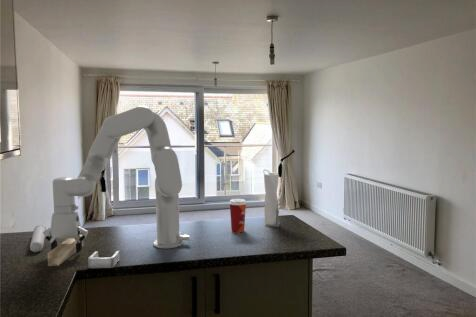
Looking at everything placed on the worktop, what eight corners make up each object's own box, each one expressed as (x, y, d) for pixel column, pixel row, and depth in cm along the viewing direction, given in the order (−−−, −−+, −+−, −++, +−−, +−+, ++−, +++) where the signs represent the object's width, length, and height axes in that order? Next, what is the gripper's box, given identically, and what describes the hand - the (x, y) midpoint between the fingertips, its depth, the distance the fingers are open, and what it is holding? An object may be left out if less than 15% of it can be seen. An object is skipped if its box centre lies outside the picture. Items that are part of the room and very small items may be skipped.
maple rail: (83, 246, 160) (83, 234, 159) (59, 266, 138) (58, 253, 137) (74, 246, 160) (73, 234, 159) (48, 266, 138) (47, 253, 137)
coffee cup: (246, 233, 175) (246, 202, 174) (228, 233, 176) (228, 202, 174) (246, 228, 184) (246, 198, 182) (229, 228, 184) (229, 198, 182)
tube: (45, 243, 152) (48, 226, 174) (31, 240, 150) (35, 224, 172) (41, 255, 152) (44, 237, 174) (26, 253, 149) (31, 235, 172)
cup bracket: (119, 260, 143) (119, 251, 143) (113, 267, 136) (113, 258, 135) (95, 260, 143) (95, 251, 143) (88, 268, 136) (87, 258, 135)
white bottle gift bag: (262, 226, 188) (262, 170, 185) (263, 221, 195) (263, 168, 192) (279, 227, 186) (279, 170, 183) (279, 222, 194) (280, 168, 191)
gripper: (90, 206, 151) (92, 248, 153) (46, 207, 150) (49, 248, 152) (83, 211, 143) (85, 255, 145) (37, 211, 143) (39, 255, 145)
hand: (66, 251), depth 149 cm, fingers open, 9 cm apart
